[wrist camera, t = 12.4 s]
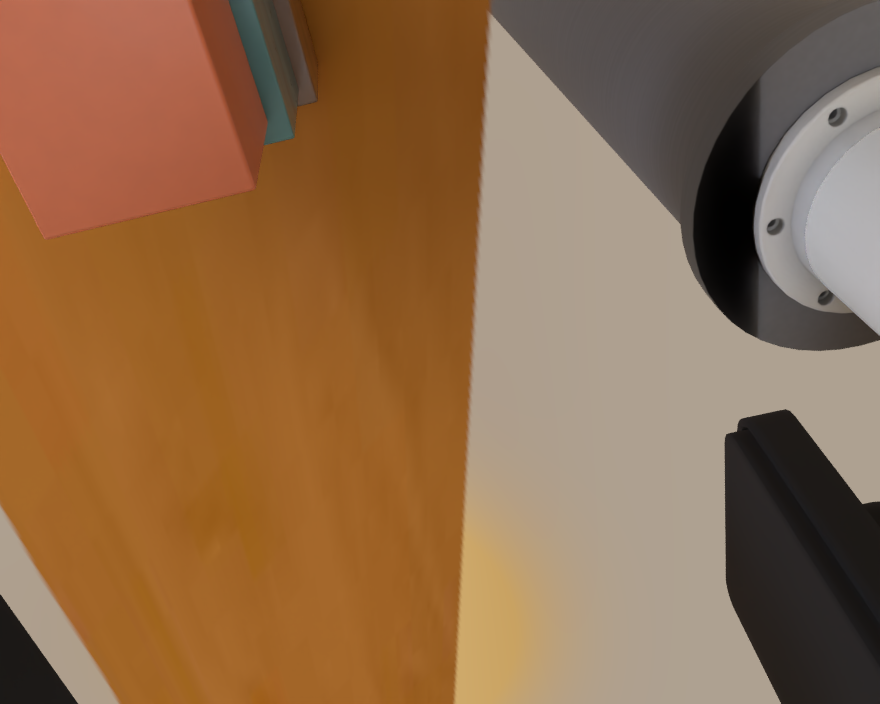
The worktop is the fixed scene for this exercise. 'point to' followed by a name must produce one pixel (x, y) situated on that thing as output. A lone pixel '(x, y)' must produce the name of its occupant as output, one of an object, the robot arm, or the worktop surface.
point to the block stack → (278, 60)
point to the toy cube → (125, 108)
